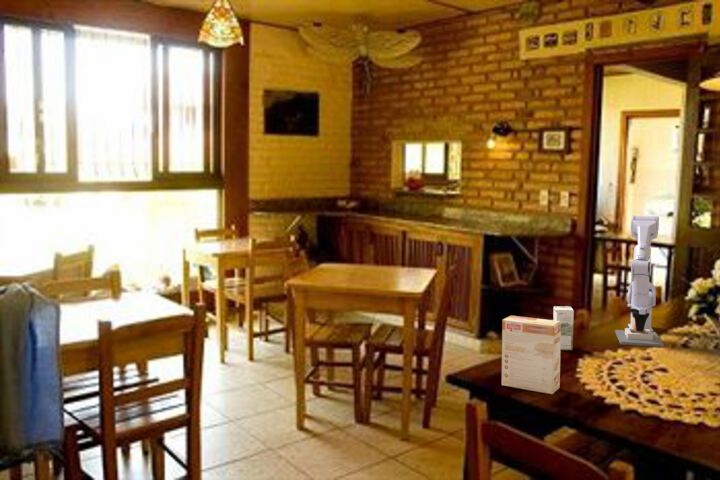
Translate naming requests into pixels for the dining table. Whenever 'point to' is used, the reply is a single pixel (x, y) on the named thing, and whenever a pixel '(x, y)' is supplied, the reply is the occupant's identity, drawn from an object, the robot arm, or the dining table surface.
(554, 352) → the coffeecake box
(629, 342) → the dock board
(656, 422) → the dining table surface
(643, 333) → the peach rounded egg part
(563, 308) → the syrup box
